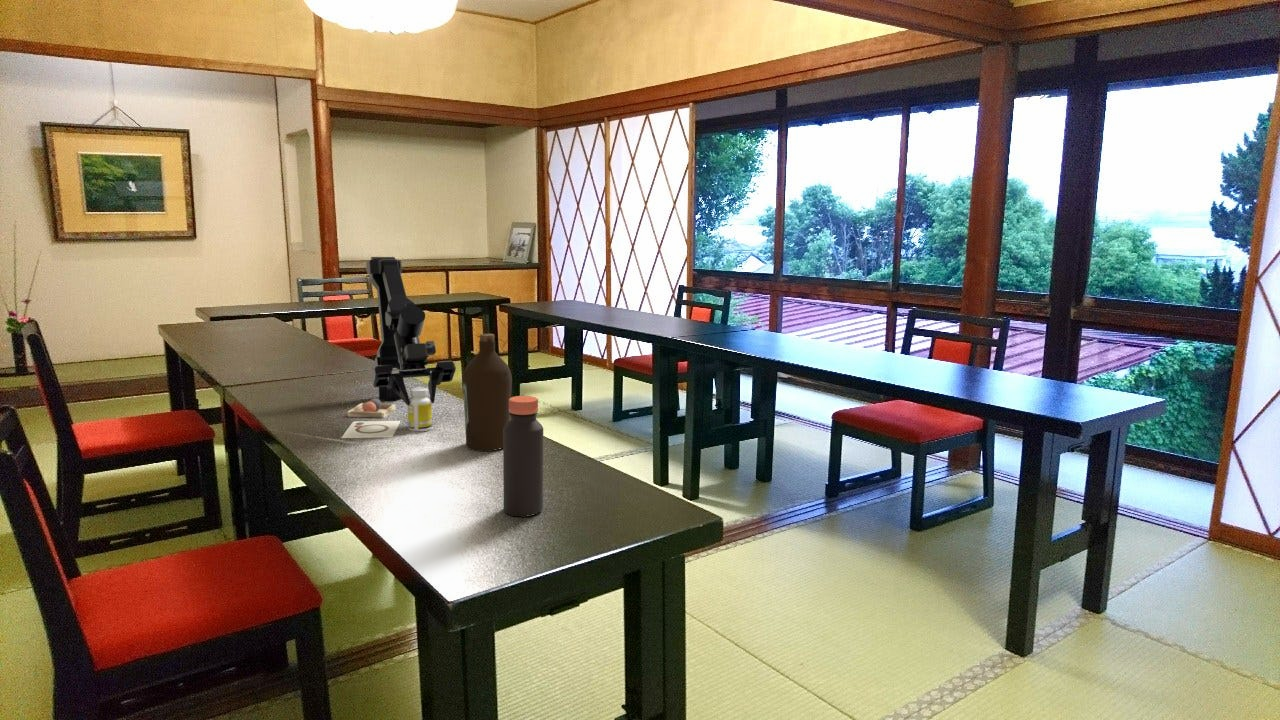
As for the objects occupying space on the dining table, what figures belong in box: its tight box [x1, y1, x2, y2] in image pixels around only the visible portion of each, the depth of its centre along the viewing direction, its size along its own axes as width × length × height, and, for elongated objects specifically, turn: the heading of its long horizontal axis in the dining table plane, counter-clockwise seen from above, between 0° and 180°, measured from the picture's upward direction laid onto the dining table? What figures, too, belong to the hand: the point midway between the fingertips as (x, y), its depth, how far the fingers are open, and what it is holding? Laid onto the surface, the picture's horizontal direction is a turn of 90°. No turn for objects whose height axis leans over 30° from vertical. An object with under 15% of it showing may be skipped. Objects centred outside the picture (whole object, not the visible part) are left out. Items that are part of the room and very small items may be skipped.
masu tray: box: [347, 402, 397, 419], centre depth 190 cm, size 9×9×2 cm
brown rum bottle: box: [461, 333, 513, 452], centre depth 165 cm, size 11×11×25 cm
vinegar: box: [502, 395, 544, 517], centre depth 129 cm, size 7×7×20 cm
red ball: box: [363, 401, 376, 412], centre depth 188 cm, size 3×3×3 cm
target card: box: [340, 420, 401, 439], centre depth 176 cm, size 14×11×1 cm
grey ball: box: [368, 397, 382, 411], centre depth 192 cm, size 3×3×3 cm
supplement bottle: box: [407, 386, 433, 432], centre depth 178 cm, size 5×5×10 cm
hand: (420, 403), depth 176 cm, fingers closed on supplement bottle, 5 cm apart
